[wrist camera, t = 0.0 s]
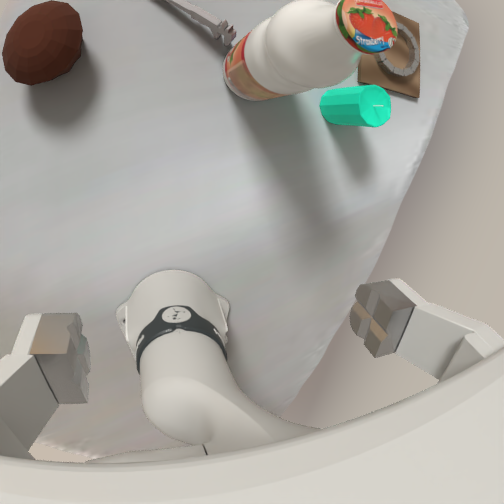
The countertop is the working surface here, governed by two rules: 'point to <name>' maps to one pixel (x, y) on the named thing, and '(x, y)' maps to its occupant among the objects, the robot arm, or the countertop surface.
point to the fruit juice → (308, 47)
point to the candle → (356, 106)
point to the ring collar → (413, 55)
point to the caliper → (207, 20)
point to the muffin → (43, 43)
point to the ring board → (398, 58)
